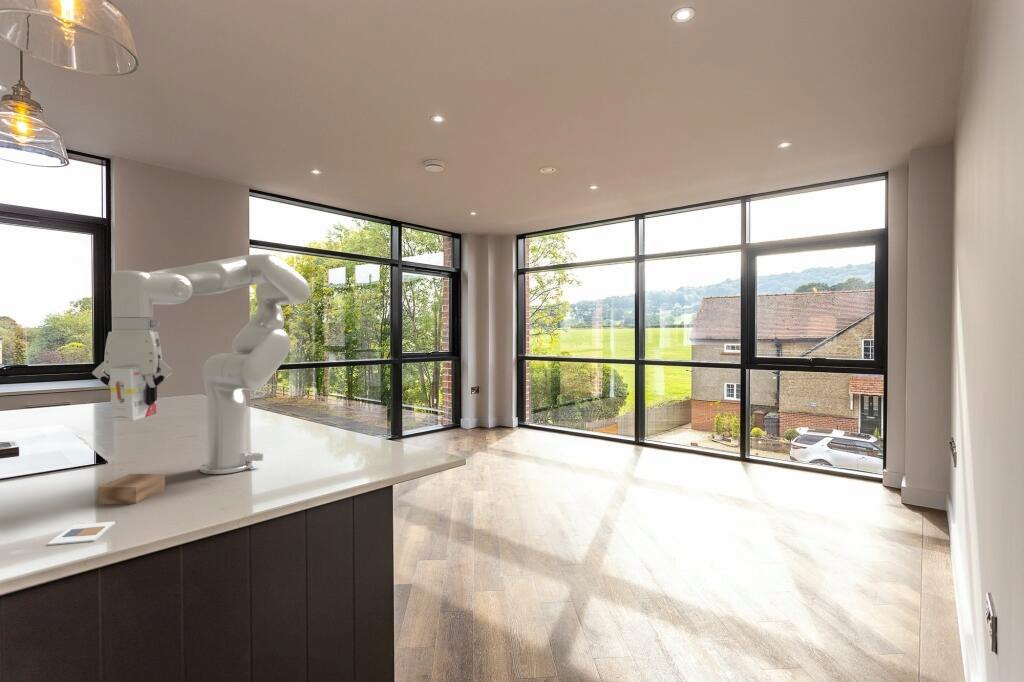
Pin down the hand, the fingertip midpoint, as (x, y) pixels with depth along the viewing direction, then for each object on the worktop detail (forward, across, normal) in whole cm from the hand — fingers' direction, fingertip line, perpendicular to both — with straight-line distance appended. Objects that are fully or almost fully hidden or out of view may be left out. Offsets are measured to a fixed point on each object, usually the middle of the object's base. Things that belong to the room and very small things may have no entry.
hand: (134, 404), depth 117 cm
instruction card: (+21, +1, +22) cm, 31 cm away
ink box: (+3, 0, 0) cm, 3 cm away
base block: (+21, 0, 0) cm, 21 cm away
